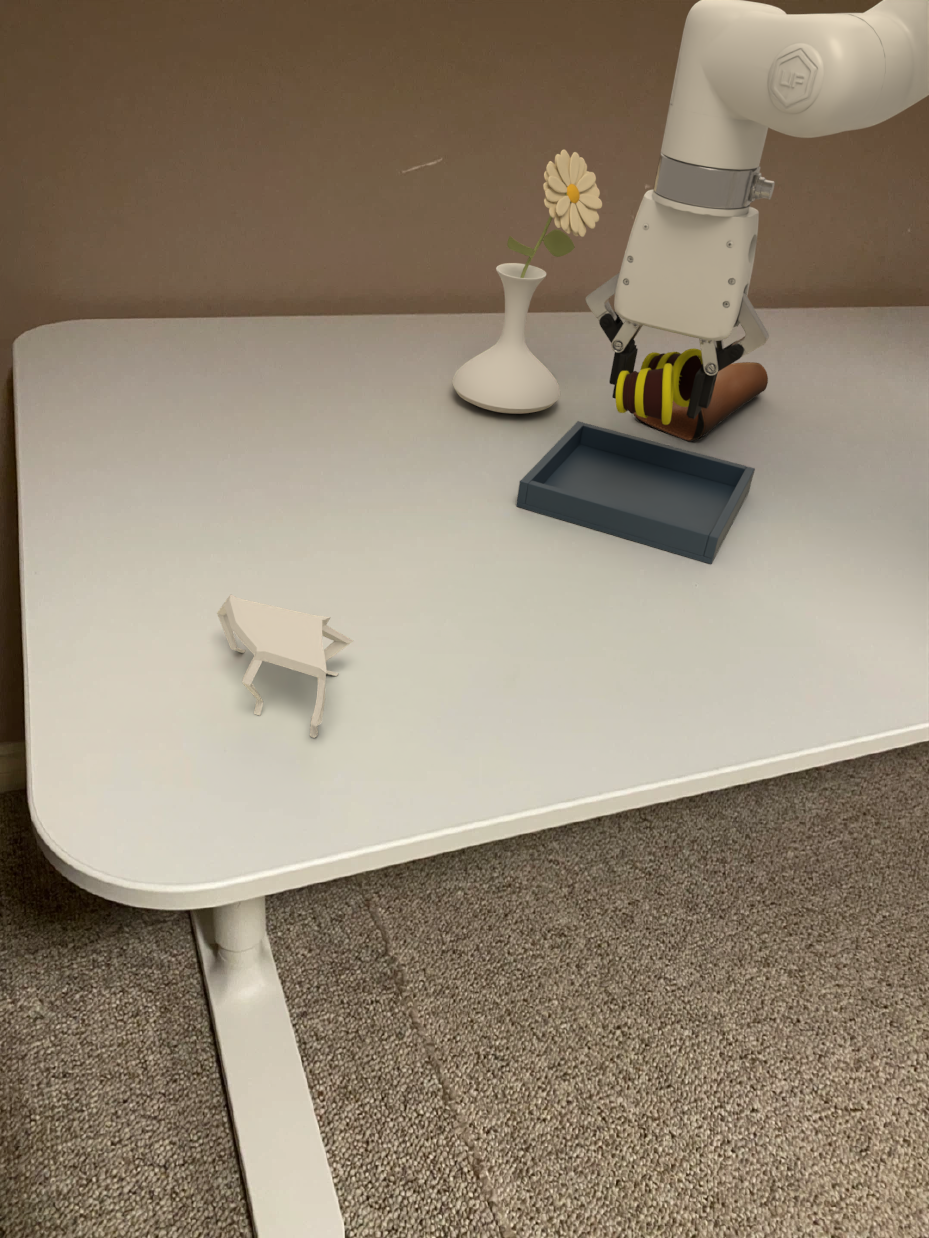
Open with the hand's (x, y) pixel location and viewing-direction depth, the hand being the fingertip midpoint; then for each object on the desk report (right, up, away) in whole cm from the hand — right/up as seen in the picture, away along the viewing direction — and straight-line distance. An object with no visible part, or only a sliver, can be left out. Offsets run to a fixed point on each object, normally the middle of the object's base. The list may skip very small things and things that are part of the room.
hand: (657, 401), depth 93 cm
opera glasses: (0, -1, 0) cm, 1 cm away
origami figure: (-29, -23, -22) cm, 43 cm away
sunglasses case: (+9, +4, +25) cm, 27 cm away
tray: (-1, -8, +5) cm, 9 cm away
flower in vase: (-12, +4, +21) cm, 25 cm away
